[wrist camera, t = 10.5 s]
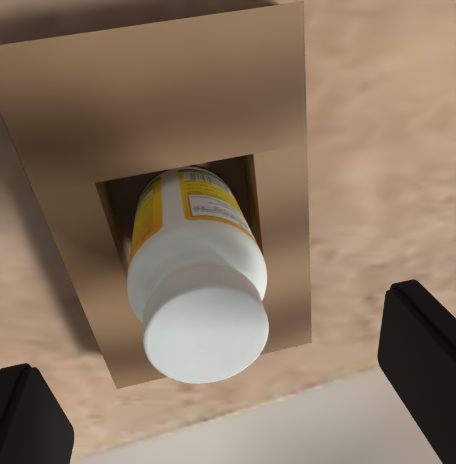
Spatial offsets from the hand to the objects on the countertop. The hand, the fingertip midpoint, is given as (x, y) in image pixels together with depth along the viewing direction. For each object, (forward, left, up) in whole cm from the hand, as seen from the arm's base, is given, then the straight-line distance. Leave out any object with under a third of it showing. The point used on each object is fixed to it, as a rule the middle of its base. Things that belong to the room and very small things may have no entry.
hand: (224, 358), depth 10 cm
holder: (+1, 0, -11) cm, 11 cm away
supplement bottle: (+1, 0, -11) cm, 11 cm away
